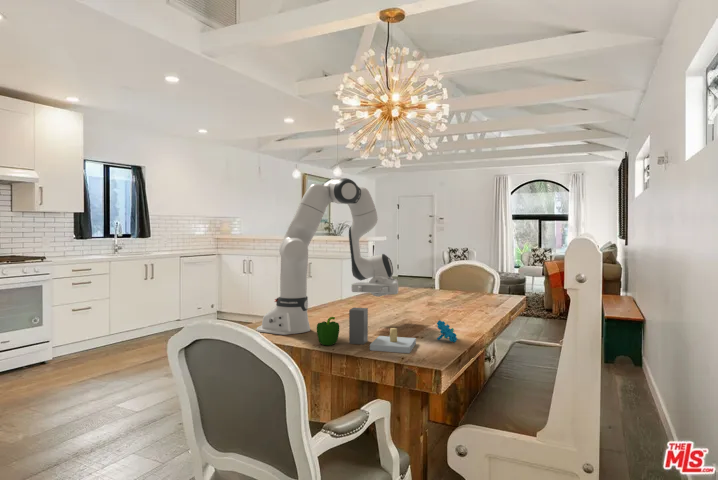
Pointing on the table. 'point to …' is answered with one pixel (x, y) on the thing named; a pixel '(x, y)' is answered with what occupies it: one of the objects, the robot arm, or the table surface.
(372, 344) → the base plate
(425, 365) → the table surface
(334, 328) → the bell pepper
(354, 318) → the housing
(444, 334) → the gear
